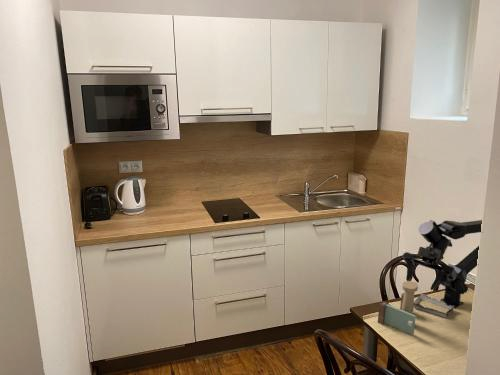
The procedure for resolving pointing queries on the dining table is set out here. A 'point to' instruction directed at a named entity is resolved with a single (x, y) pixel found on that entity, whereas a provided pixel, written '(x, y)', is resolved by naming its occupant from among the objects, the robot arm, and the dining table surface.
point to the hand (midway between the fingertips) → (418, 284)
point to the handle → (409, 296)
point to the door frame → (382, 311)
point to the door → (399, 319)
